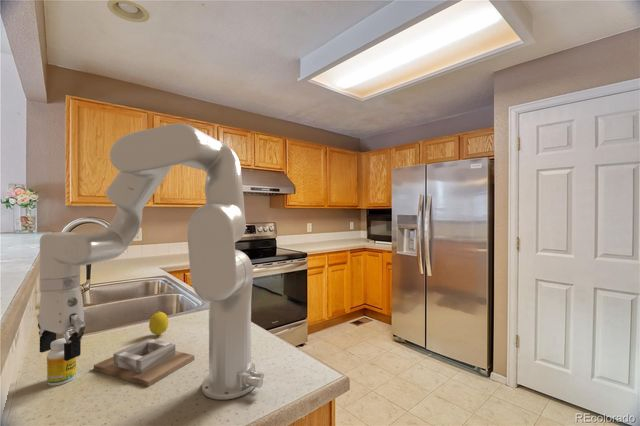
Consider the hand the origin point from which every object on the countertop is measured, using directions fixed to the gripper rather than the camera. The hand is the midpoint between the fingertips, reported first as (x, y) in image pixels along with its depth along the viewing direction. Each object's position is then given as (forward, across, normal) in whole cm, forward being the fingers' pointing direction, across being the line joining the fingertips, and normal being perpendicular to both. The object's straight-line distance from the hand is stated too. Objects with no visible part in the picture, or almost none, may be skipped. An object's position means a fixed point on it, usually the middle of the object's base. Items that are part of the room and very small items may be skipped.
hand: (59, 354), depth 74 cm
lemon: (+6, 0, -28) cm, 29 cm away
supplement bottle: (+7, 0, 0) cm, 7 cm away
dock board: (+6, -12, -13) cm, 19 cm away
